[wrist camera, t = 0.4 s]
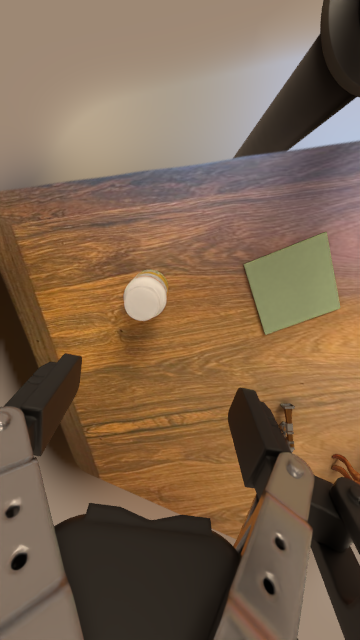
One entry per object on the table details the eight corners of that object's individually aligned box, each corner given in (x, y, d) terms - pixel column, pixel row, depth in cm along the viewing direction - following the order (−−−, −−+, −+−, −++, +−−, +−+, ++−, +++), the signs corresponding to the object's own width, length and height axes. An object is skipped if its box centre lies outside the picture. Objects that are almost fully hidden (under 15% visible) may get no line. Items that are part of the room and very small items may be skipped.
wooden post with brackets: (277, 443, 45) (288, 454, 41) (275, 400, 46) (284, 406, 42) (287, 442, 45) (298, 454, 41) (284, 399, 46) (295, 406, 41)
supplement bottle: (147, 310, 37) (137, 335, 28) (125, 282, 36) (107, 299, 27) (175, 291, 36) (174, 310, 27) (154, 261, 35) (145, 271, 26)
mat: (243, 264, 35) (244, 264, 35) (325, 231, 34) (326, 231, 33) (264, 333, 39) (265, 334, 38) (338, 307, 37) (340, 308, 37)
